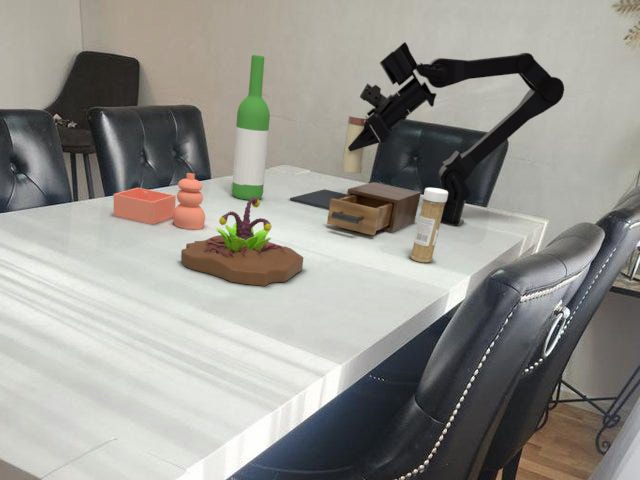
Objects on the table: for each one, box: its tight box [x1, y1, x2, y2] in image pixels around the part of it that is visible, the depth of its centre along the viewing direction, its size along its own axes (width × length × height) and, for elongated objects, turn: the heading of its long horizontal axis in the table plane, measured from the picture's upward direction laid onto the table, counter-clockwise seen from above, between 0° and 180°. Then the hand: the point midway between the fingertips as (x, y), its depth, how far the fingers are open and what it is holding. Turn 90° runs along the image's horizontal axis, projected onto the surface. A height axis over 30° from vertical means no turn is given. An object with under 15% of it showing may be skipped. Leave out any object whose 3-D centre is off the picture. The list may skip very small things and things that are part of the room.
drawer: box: [326, 194, 394, 236], centre depth 145 cm, size 19×11×5 cm, turn 150°
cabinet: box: [346, 181, 422, 234], centre depth 155 cm, size 16×13×7 cm
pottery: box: [112, 172, 206, 230], centre depth 132 cm, size 18×10×10 cm, turn 70°
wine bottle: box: [231, 54, 271, 201], centre depth 154 cm, size 8×8×30 cm
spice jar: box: [410, 187, 448, 264], centre depth 128 cm, size 5×5×14 cm
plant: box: [180, 197, 304, 287], centre depth 112 cm, size 20×20×11 cm
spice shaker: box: [340, 114, 370, 174], centre depth 159 cm, size 5×5×12 cm
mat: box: [289, 188, 347, 211], centre depth 169 cm, size 20×20×1 cm
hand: (349, 148), depth 159 cm, fingers closed on spice shaker, 5 cm apart
